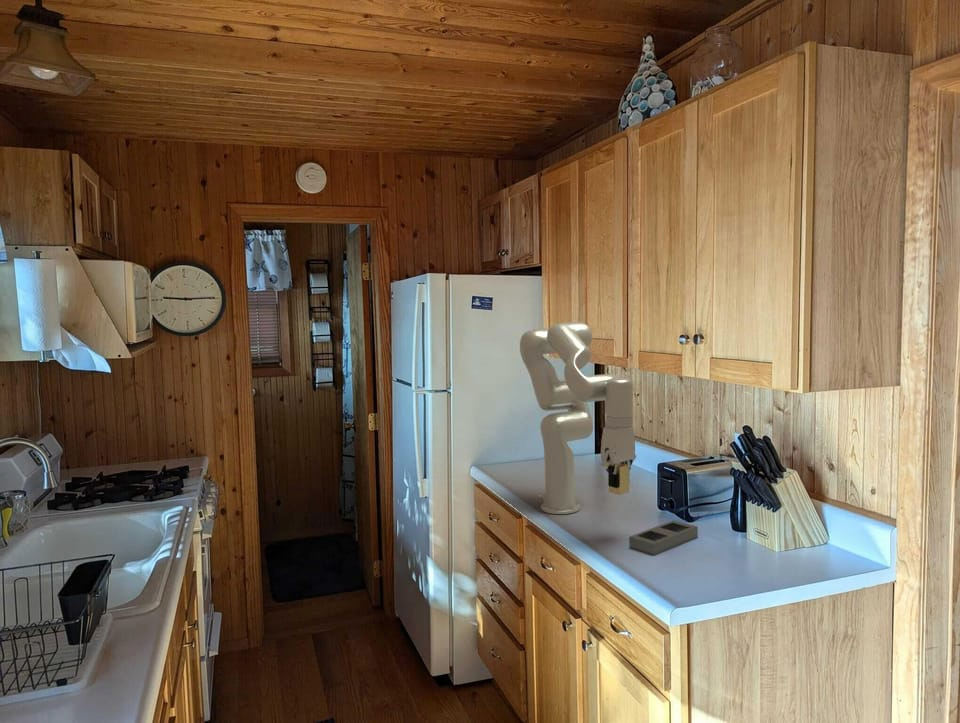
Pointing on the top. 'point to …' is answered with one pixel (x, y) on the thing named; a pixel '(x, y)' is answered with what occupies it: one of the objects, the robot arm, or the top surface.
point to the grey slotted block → (663, 537)
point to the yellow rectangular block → (621, 480)
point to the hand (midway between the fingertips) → (618, 484)
